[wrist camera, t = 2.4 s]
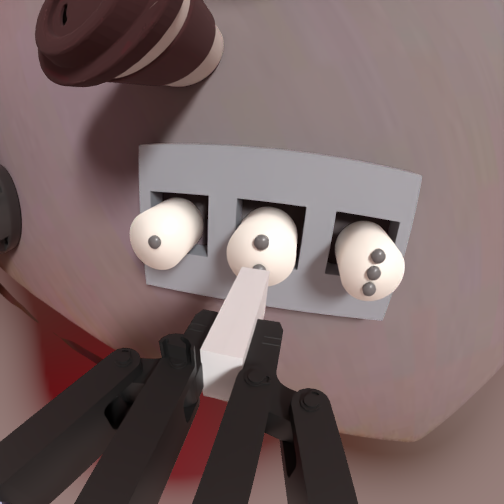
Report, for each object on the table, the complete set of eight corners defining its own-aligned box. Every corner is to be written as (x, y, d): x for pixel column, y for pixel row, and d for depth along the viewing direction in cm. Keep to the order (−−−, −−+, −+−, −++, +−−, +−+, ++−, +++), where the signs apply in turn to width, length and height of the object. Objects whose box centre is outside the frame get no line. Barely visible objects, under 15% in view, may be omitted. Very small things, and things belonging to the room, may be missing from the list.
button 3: (330, 269, 23) (334, 299, 19) (340, 216, 21) (348, 236, 17) (381, 276, 23) (394, 306, 19) (394, 225, 21) (413, 247, 17)
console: (156, 273, 30) (146, 284, 28) (152, 143, 24) (138, 144, 22) (377, 306, 27) (382, 320, 24) (412, 171, 21) (422, 175, 19)
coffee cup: (256, 19, 18) (200, -83, 4) (216, 113, 22) (105, 94, 8) (163, 6, 18) (64, -52, 4) (128, 90, 22) (3, 82, 9)
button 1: (156, 244, 26) (130, 266, 21) (154, 195, 24) (125, 209, 19) (203, 251, 25) (183, 276, 21) (204, 199, 23) (181, 214, 19)
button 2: (238, 256, 24) (224, 283, 20) (241, 203, 22) (226, 219, 18) (293, 264, 24) (290, 293, 20) (301, 210, 22) (300, 229, 18)
